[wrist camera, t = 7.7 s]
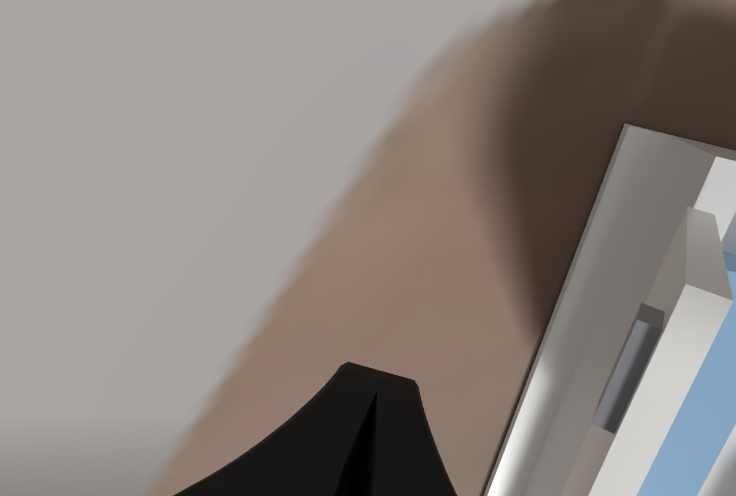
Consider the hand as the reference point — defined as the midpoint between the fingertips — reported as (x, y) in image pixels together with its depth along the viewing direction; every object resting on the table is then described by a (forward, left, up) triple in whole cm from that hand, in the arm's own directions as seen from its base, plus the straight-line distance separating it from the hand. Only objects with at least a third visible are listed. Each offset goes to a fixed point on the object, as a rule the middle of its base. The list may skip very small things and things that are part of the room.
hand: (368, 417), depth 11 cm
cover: (-4, 0, 0) cm, 4 cm away
